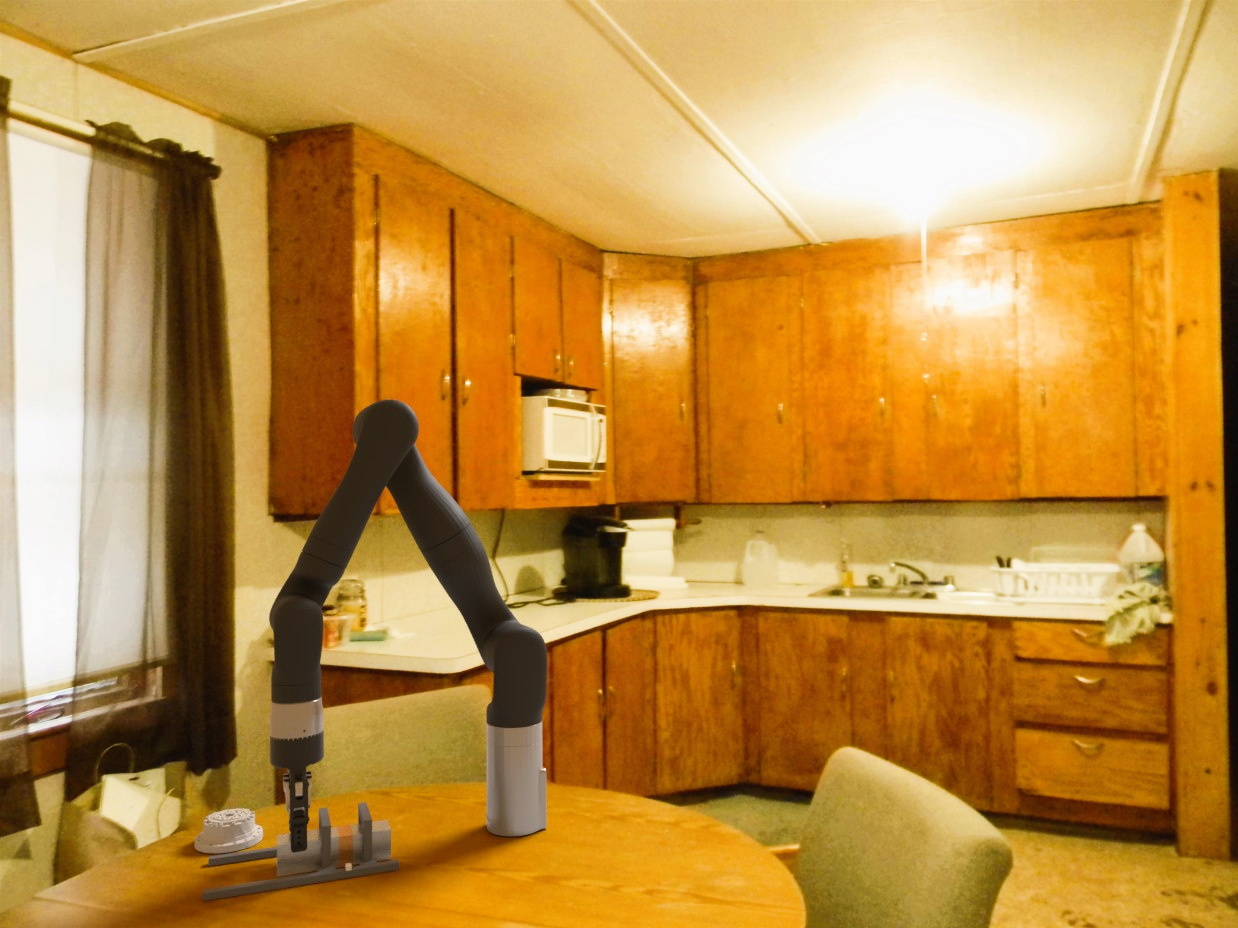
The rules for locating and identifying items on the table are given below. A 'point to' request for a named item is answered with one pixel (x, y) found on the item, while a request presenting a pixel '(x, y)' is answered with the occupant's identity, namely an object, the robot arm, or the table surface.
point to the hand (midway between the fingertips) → (298, 840)
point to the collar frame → (322, 875)
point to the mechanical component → (228, 831)
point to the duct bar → (333, 848)
